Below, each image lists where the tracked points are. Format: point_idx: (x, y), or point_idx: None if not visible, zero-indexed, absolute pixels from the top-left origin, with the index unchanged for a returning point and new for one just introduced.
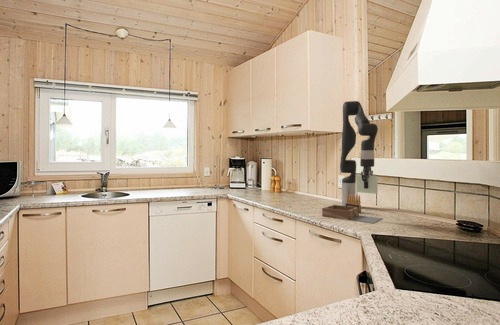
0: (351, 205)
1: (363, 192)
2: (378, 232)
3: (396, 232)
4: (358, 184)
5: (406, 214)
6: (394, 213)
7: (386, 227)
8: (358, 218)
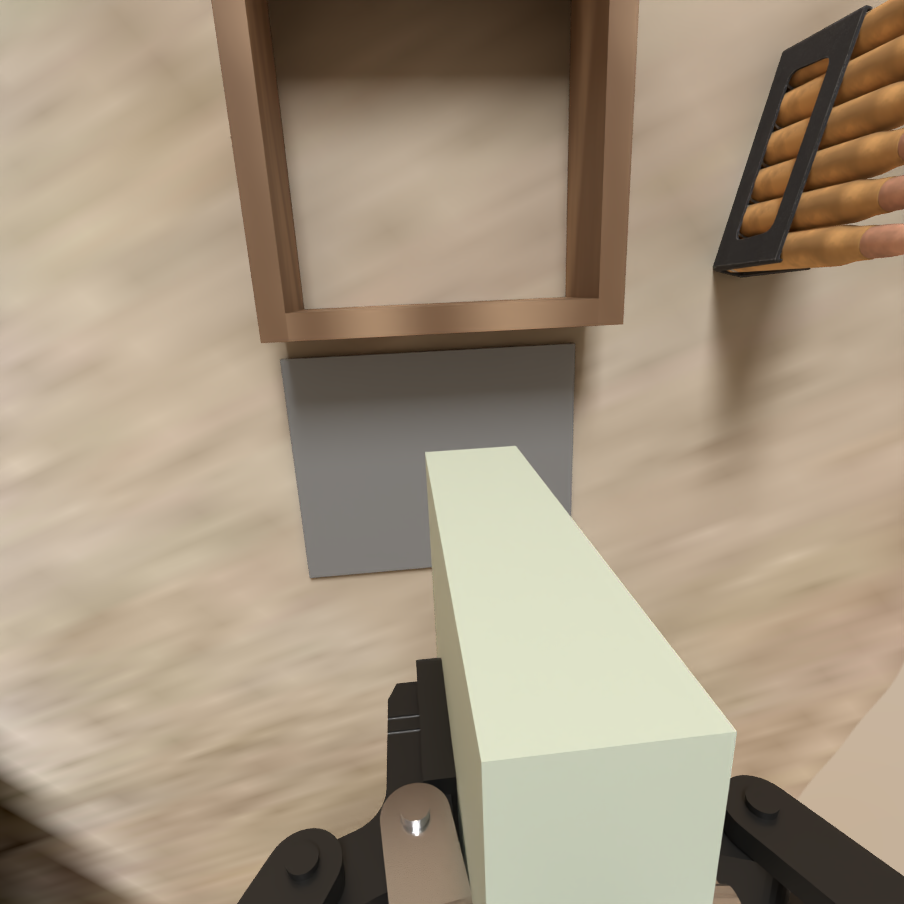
0: (810, 128)
1: (433, 582)
2: (33, 720)
3: (149, 793)
4: (440, 566)
5: (886, 620)
6: (888, 535)
7: (251, 695)
8: (409, 394)
